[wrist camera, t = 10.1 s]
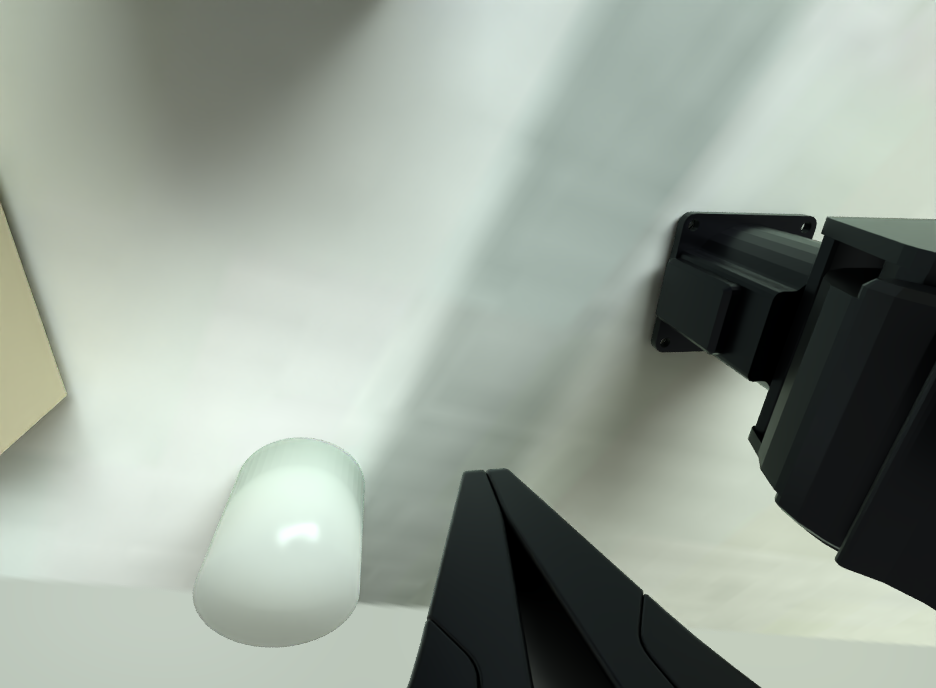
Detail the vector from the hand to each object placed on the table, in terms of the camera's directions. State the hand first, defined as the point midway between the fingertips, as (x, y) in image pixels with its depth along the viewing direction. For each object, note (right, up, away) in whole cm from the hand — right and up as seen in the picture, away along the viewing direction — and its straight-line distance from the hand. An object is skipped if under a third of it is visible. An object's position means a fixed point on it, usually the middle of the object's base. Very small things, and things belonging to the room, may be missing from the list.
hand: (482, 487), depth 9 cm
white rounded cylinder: (-8, -4, +15) cm, 17 cm away
